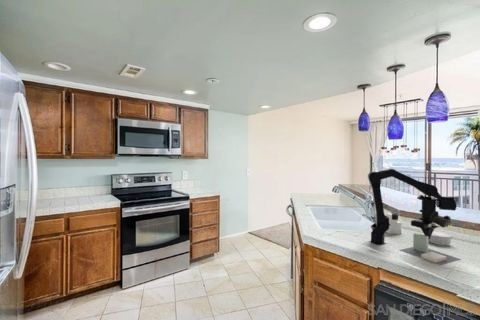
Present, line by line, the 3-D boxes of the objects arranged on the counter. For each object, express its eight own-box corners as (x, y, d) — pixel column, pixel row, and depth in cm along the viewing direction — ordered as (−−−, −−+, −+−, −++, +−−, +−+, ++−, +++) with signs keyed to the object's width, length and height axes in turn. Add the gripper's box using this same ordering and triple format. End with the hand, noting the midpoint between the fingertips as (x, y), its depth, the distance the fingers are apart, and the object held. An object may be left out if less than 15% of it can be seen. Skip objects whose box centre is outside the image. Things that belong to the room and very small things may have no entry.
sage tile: (426, 253, 116) (426, 236, 116) (413, 248, 122) (413, 233, 122) (428, 252, 117) (428, 236, 117) (415, 248, 123) (415, 232, 122)
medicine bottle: (395, 230, 153) (395, 212, 153) (401, 234, 146) (401, 214, 145) (383, 230, 154) (383, 211, 153) (389, 234, 146) (389, 214, 146)
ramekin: (420, 241, 135) (420, 231, 135) (433, 238, 139) (433, 229, 139) (443, 248, 124) (443, 238, 124) (456, 245, 128) (456, 235, 128)
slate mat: (440, 266, 103) (440, 265, 103) (398, 251, 120) (398, 250, 120) (461, 260, 109) (461, 259, 109) (419, 246, 126) (419, 245, 126)
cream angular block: (446, 260, 108) (435, 263, 105) (431, 255, 114) (421, 257, 111) (446, 256, 108) (435, 259, 105) (431, 251, 114) (421, 254, 111)
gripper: (435, 214, 110) (434, 247, 111) (458, 210, 117) (457, 241, 118) (410, 209, 121) (409, 239, 121) (433, 206, 128) (432, 234, 128)
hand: (428, 239), depth 122 cm, fingers closed
